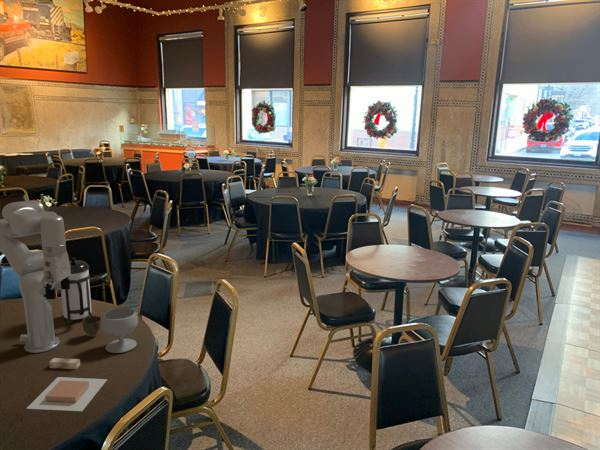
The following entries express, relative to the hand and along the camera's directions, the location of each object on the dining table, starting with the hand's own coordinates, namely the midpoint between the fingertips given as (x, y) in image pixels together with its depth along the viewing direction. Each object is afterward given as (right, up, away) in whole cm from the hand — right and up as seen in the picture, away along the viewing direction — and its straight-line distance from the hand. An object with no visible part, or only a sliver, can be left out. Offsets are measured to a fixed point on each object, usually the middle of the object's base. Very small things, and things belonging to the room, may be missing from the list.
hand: (58, 293), depth 165 cm
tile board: (+11, -33, -14) cm, 38 cm away
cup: (0, -23, +28) cm, 36 cm away
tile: (+12, -29, -11) cm, 33 cm away
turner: (+5, -29, +1) cm, 30 cm away
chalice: (+15, -25, +20) cm, 36 cm away
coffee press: (-14, -19, +44) cm, 50 cm away
